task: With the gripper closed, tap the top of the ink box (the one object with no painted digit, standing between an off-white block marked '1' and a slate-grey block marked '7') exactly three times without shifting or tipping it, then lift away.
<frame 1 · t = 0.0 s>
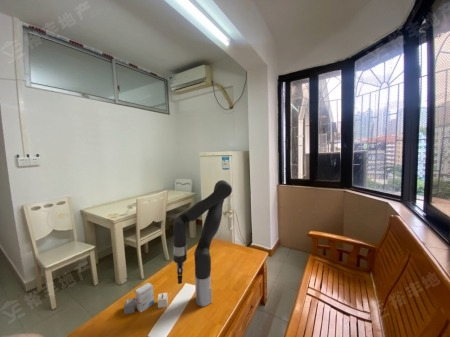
hand: (180, 278, 110), 17 cm above the table, tool pointing down, fingers open, 8 cm apart
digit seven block: (130, 309, 109), on the table
digit one block: (162, 304, 112), on the table
ink box: (145, 306, 111), on the table
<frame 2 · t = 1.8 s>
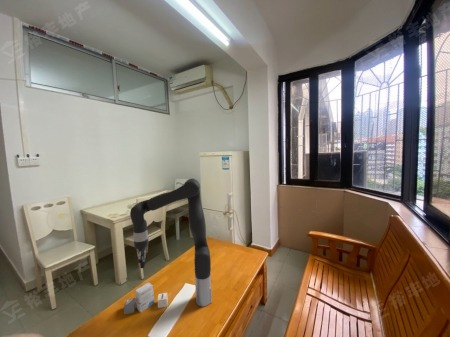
hand: (142, 266, 108), 25 cm above the table, tool pointing down, fingers closed
nothing on the table moved.
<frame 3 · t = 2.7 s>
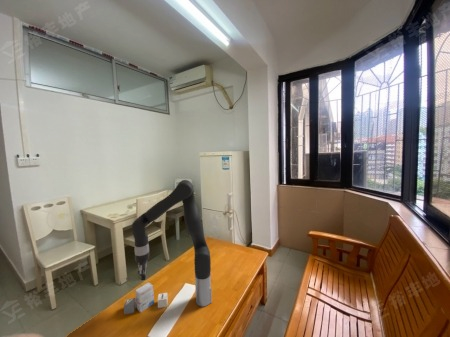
hand: (143, 279, 109), 17 cm above the table, tool pointing down, fingers closed
nothing on the table moved.
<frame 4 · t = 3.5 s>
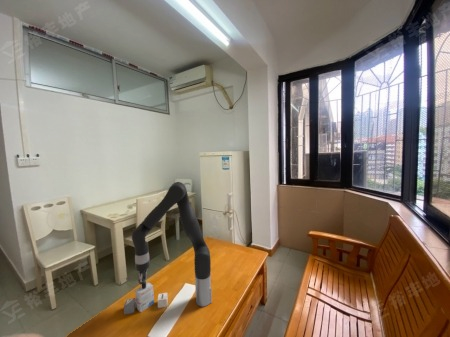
hand: (144, 287, 110), 12 cm above the table, tool pointing down, fingers closed
ink box: (145, 306, 111), on the table, touching gripper
everything else where it was.
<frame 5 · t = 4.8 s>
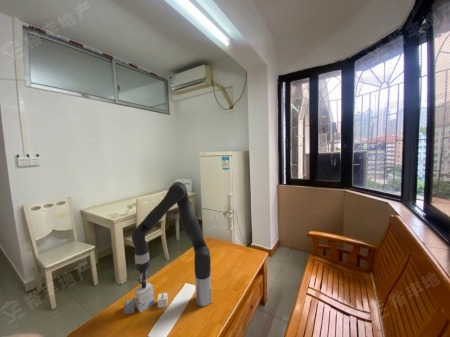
hand: (144, 287, 110), 12 cm above the table, tool pointing down, fingers closed
ink box: (145, 306, 111), on the table
everything else where it was.
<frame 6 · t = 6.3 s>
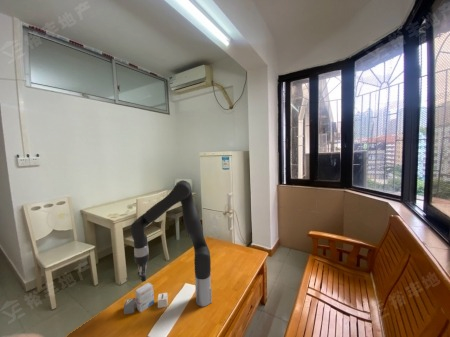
hand: (143, 280, 109), 16 cm above the table, tool pointing down, fingers closed
nothing on the table moved.
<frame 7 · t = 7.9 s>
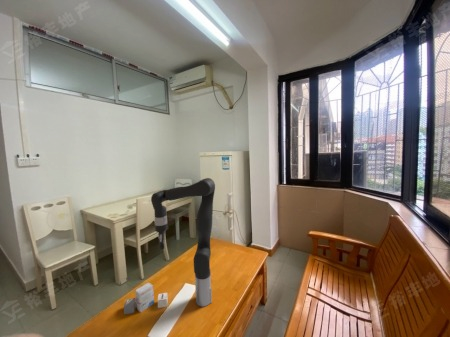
hand: (162, 248, 120), 29 cm above the table, tool pointing down, fingers closed
nothing on the table moved.
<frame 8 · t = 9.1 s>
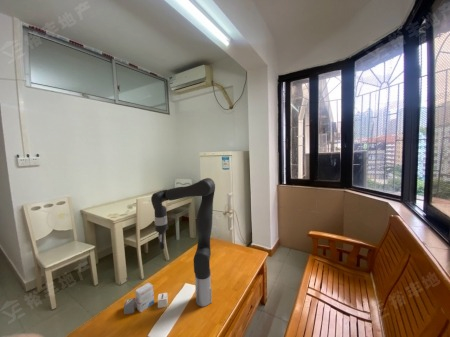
hand: (162, 248, 120), 29 cm above the table, tool pointing down, fingers closed
nothing on the table moved.
at the end: ink box moved 0.3 cm from its start; ink box tilted 0°; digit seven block moved 0.1 cm from its start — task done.
